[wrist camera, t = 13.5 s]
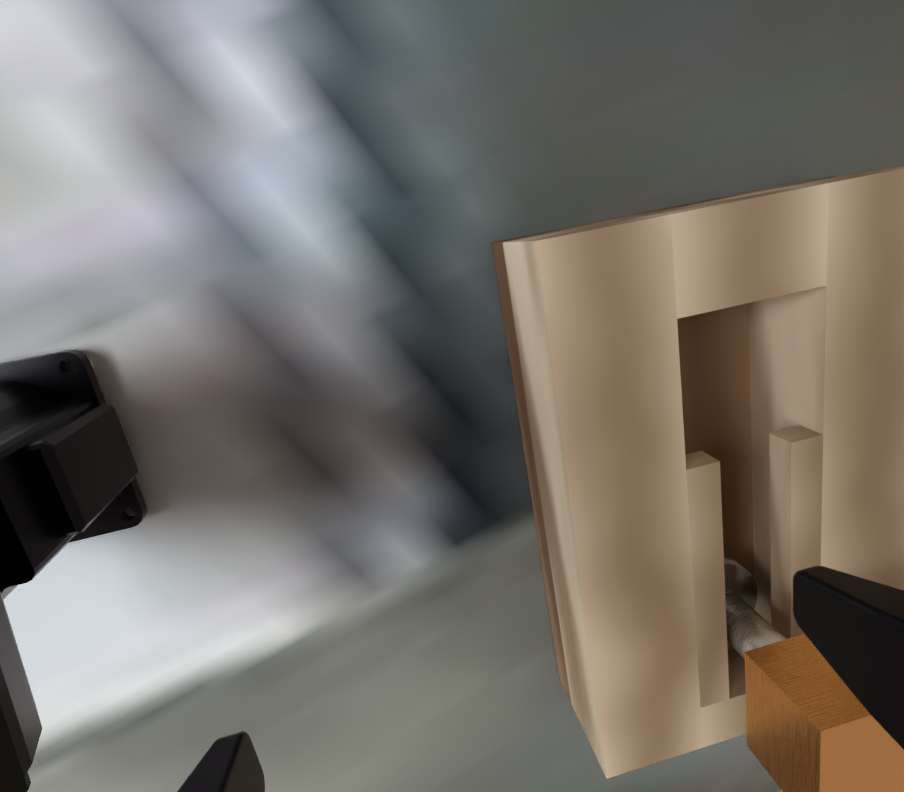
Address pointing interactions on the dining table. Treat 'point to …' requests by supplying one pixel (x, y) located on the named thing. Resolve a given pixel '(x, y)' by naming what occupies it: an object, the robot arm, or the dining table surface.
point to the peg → (803, 707)
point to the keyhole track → (705, 436)
